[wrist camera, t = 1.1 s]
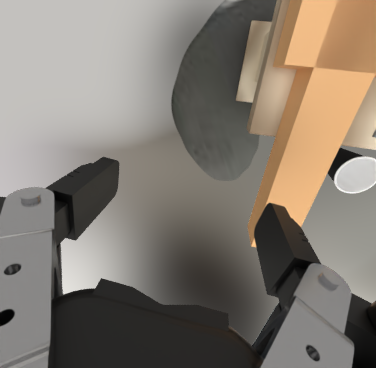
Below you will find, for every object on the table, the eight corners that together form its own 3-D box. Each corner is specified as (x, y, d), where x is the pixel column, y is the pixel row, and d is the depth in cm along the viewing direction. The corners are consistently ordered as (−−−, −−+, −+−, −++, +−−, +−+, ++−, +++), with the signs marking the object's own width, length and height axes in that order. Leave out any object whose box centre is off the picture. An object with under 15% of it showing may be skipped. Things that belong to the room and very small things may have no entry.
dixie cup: (306, 166, 50) (326, 188, 40) (323, 136, 46) (350, 152, 36) (336, 174, 50) (364, 197, 40) (356, 145, 46) (392, 162, 36)
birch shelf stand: (331, 29, 37) (691, -132, 9) (303, 108, 44) (454, 161, 15) (245, 21, 38) (317, -139, 10) (231, 99, 45) (249, 134, 17)
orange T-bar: (443, -70, 11) (516, -118, 8) (296, 234, 21) (307, 256, 19) (309, -76, 11) (337, -123, 9) (231, 223, 22) (233, 243, 19)
